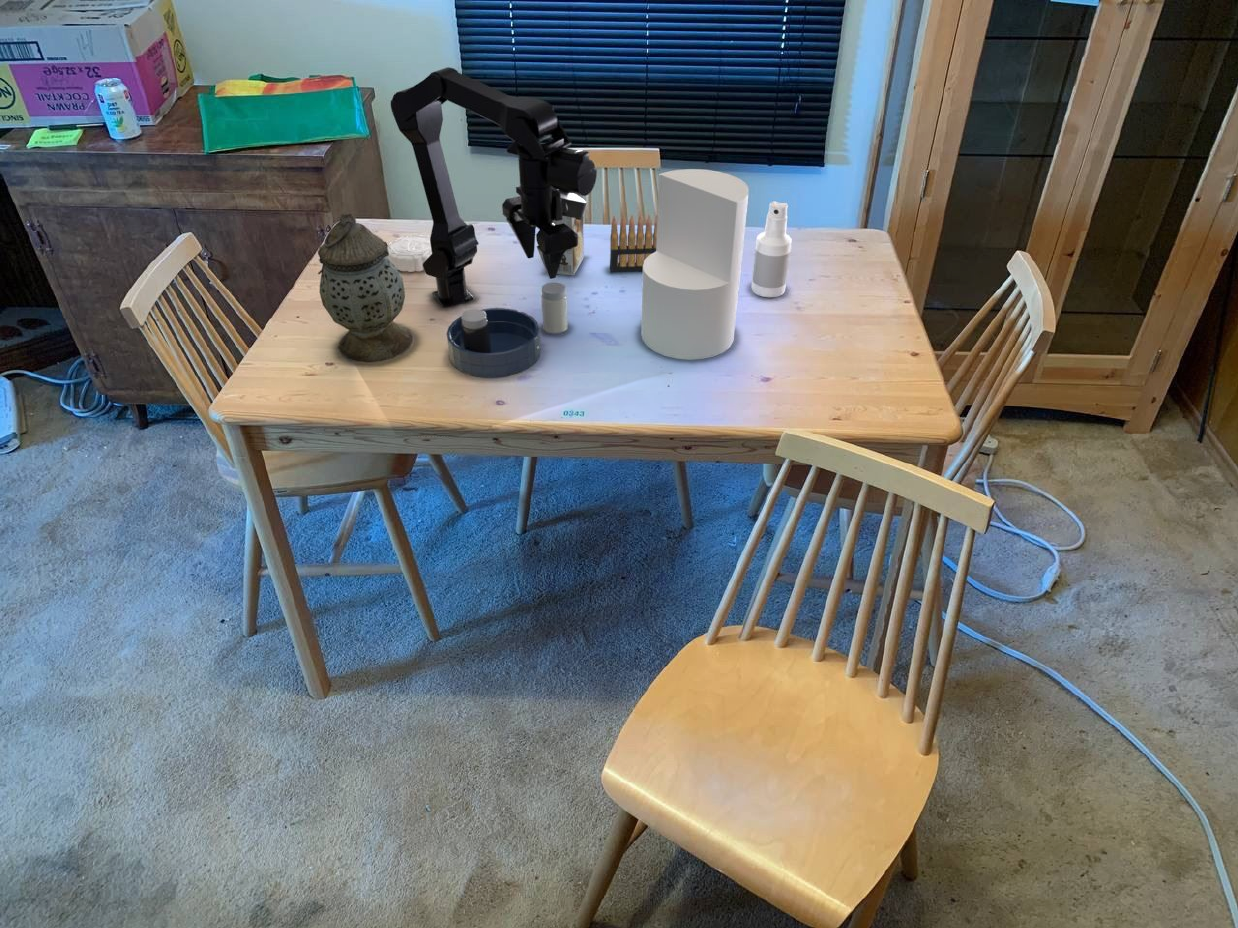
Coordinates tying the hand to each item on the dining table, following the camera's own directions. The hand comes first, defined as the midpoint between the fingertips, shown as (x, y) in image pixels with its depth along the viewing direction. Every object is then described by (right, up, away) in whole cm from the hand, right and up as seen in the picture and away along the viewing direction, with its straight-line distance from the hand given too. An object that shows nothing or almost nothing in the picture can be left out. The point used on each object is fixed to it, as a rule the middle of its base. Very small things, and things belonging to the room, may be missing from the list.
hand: (541, 267), depth 153 cm
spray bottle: (+44, 0, +20) cm, 48 cm away
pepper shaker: (-11, -16, -1) cm, 20 cm away
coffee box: (+3, +7, +28) cm, 29 cm away
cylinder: (+27, -11, +6) cm, 30 cm away
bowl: (-8, -16, 0) cm, 18 cm away
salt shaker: (+2, -10, +7) cm, 12 cm away
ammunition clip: (+17, +6, +27) cm, 32 cm away
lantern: (-31, -14, +3) cm, 34 cm away
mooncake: (-30, +8, +30) cm, 43 cm away
